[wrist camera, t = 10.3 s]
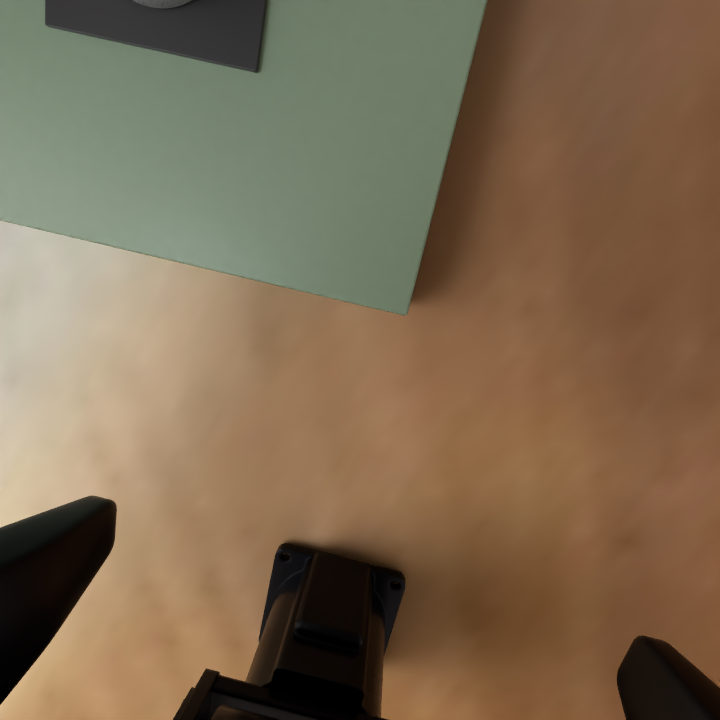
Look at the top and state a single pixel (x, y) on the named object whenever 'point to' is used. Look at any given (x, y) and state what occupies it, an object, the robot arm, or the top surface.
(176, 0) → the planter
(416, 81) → the green lipped platform
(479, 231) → the top surface
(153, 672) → the top surface
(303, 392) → the top surface
